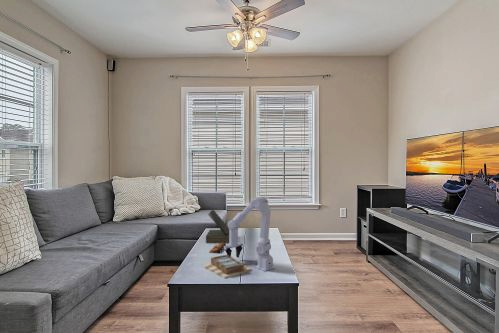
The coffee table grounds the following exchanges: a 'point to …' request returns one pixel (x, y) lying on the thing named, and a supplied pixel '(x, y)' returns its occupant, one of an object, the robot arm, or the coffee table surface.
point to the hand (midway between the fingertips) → (233, 258)
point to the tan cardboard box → (227, 264)
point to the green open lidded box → (218, 235)
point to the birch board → (222, 274)
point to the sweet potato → (217, 248)
